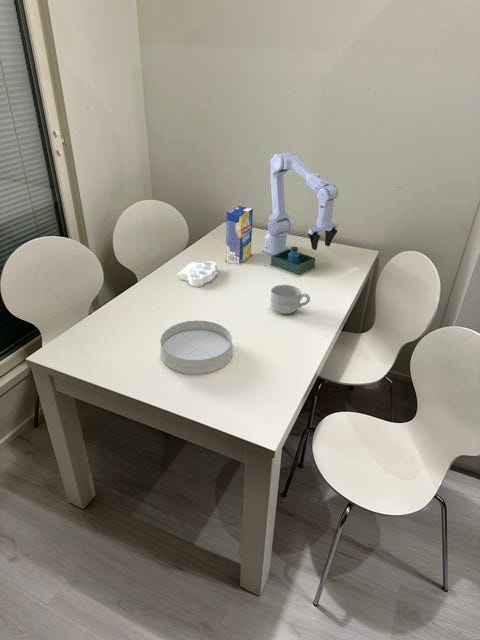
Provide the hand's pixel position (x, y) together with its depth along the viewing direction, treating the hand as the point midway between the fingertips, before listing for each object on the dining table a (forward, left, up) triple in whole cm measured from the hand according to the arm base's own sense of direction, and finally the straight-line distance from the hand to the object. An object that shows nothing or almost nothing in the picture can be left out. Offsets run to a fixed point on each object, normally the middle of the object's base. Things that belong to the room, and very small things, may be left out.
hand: (320, 247), depth 191 cm
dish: (+7, -79, -10) cm, 80 cm away
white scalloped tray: (-31, -41, -10) cm, 52 cm away
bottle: (-9, -6, -10) cm, 15 cm away
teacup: (+12, -38, -10) cm, 41 cm away
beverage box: (-32, -16, -10) cm, 37 cm away
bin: (-9, -6, -10) cm, 15 cm away
